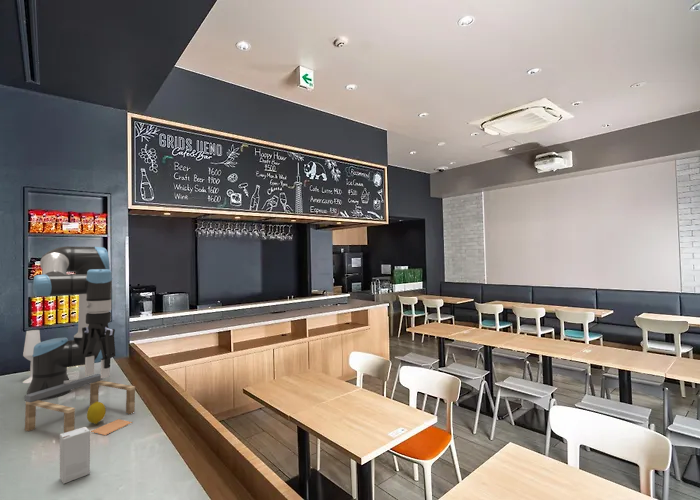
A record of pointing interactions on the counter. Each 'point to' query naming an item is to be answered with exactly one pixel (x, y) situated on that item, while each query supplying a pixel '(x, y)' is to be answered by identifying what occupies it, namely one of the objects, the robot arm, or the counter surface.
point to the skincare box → (74, 454)
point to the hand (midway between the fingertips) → (97, 375)
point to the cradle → (70, 412)
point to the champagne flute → (30, 349)
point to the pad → (111, 427)
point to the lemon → (96, 412)
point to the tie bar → (62, 388)
